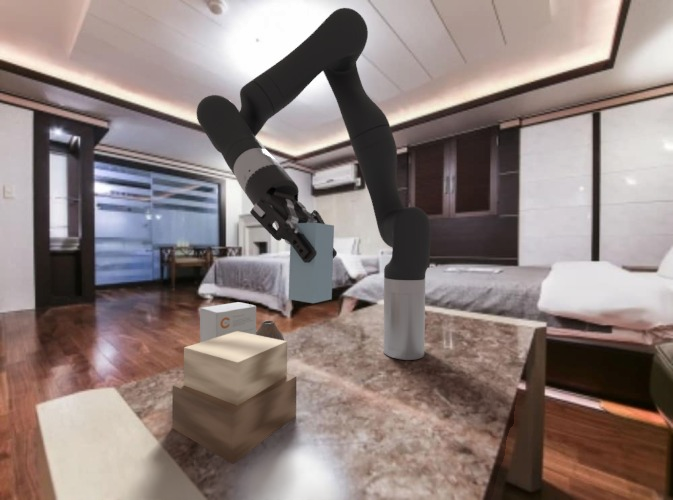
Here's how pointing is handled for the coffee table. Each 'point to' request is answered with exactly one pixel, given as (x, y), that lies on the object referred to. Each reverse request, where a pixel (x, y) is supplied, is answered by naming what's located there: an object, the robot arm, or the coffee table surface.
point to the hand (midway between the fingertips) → (322, 258)
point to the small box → (227, 320)
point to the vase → (269, 330)
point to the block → (313, 265)
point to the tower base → (233, 417)
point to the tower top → (235, 365)
